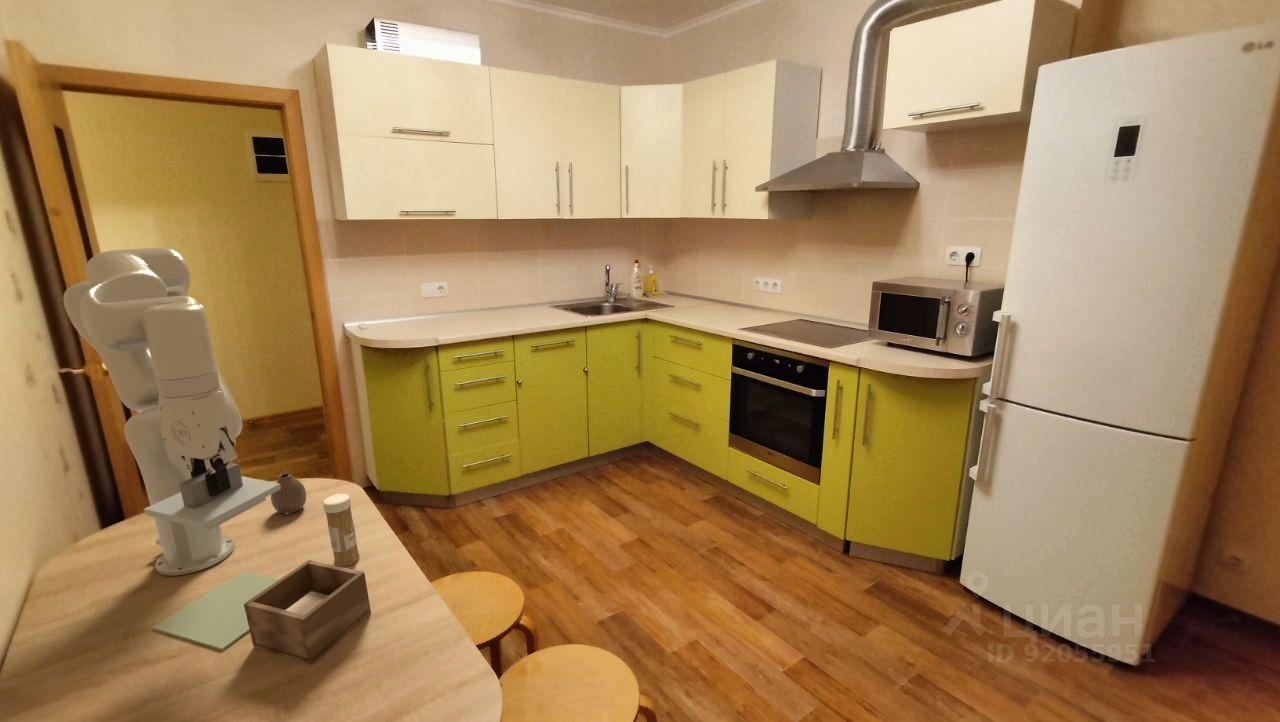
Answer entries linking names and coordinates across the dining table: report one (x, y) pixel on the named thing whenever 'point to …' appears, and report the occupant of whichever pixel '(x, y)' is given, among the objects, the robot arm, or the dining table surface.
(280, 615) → the box
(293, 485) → the vase
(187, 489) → the lid
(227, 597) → the mat
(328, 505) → the sprinkles bottle
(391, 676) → the dining table surface
